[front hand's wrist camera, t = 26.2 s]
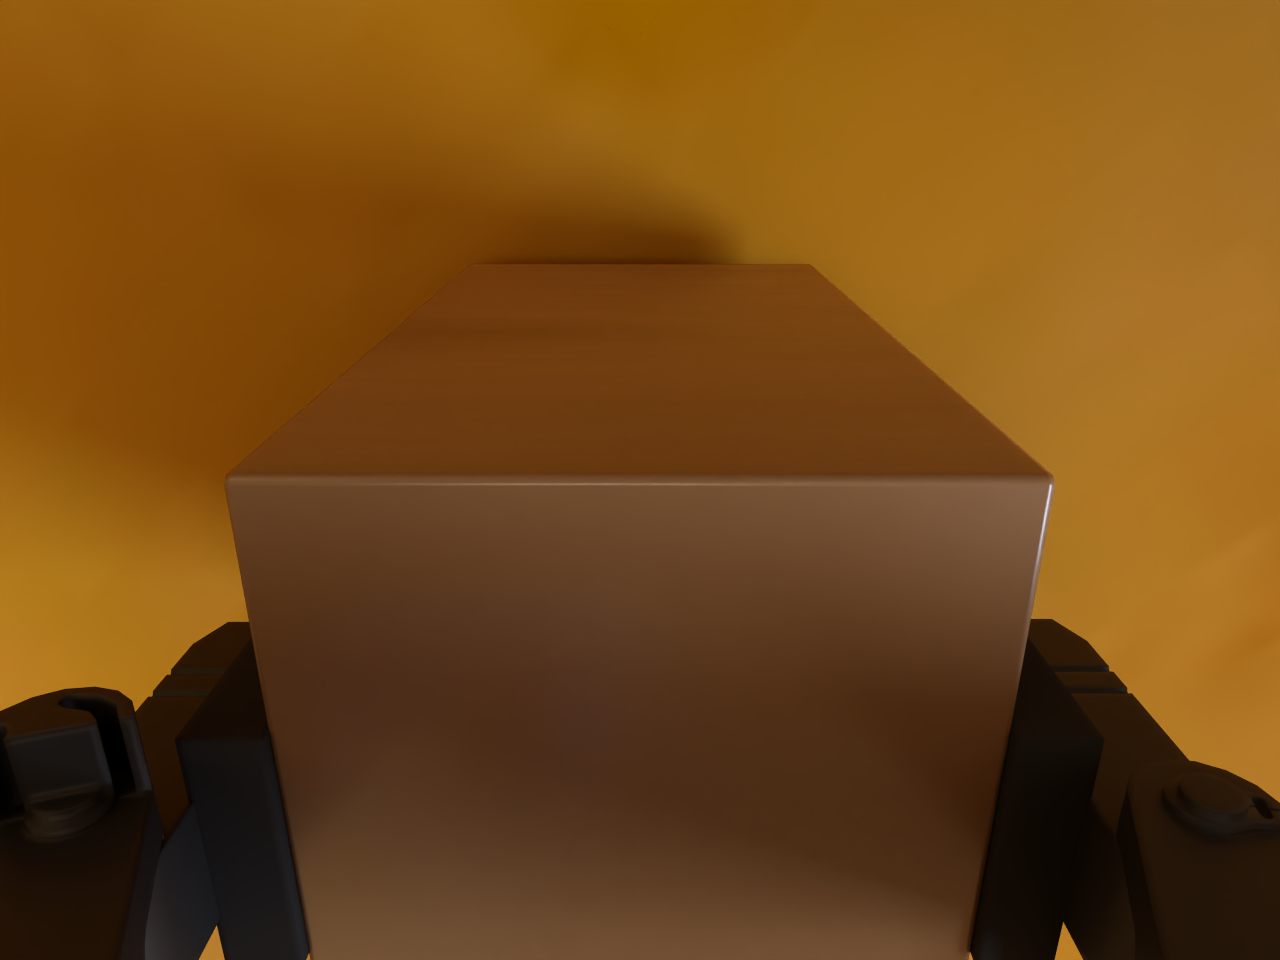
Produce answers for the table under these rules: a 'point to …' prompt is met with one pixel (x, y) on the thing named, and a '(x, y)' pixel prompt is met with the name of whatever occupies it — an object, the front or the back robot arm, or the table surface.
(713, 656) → the block
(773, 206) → the table surface
